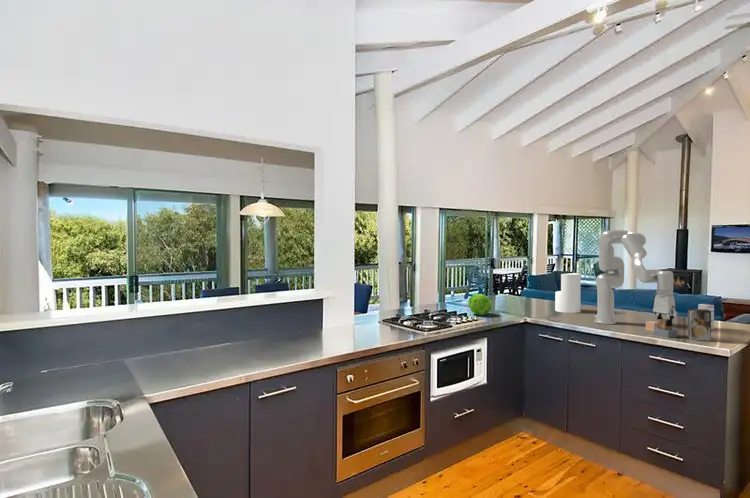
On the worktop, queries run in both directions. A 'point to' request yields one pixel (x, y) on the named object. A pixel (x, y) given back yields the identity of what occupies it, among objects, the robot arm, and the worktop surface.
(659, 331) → the base block
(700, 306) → the syrup box
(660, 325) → the walnut cube
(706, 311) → the coffee box
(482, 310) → the lettuce
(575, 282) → the cylinder
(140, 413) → the worktop surface
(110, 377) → the worktop surface
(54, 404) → the worktop surface
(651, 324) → the terracotta cube
